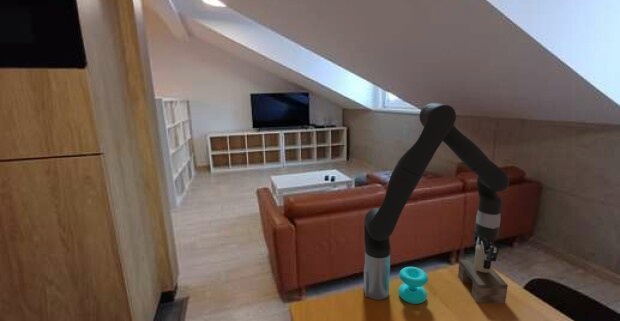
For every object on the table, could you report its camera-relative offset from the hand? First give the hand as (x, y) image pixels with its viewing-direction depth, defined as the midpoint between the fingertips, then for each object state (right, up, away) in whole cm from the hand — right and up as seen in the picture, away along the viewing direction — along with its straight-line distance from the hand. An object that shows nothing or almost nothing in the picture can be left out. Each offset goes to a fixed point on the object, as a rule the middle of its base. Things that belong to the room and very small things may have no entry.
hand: (482, 263), depth 114 cm
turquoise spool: (-27, -12, -1) cm, 30 cm away
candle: (0, -2, +1) cm, 2 cm away
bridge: (0, -11, +3) cm, 11 cm away
